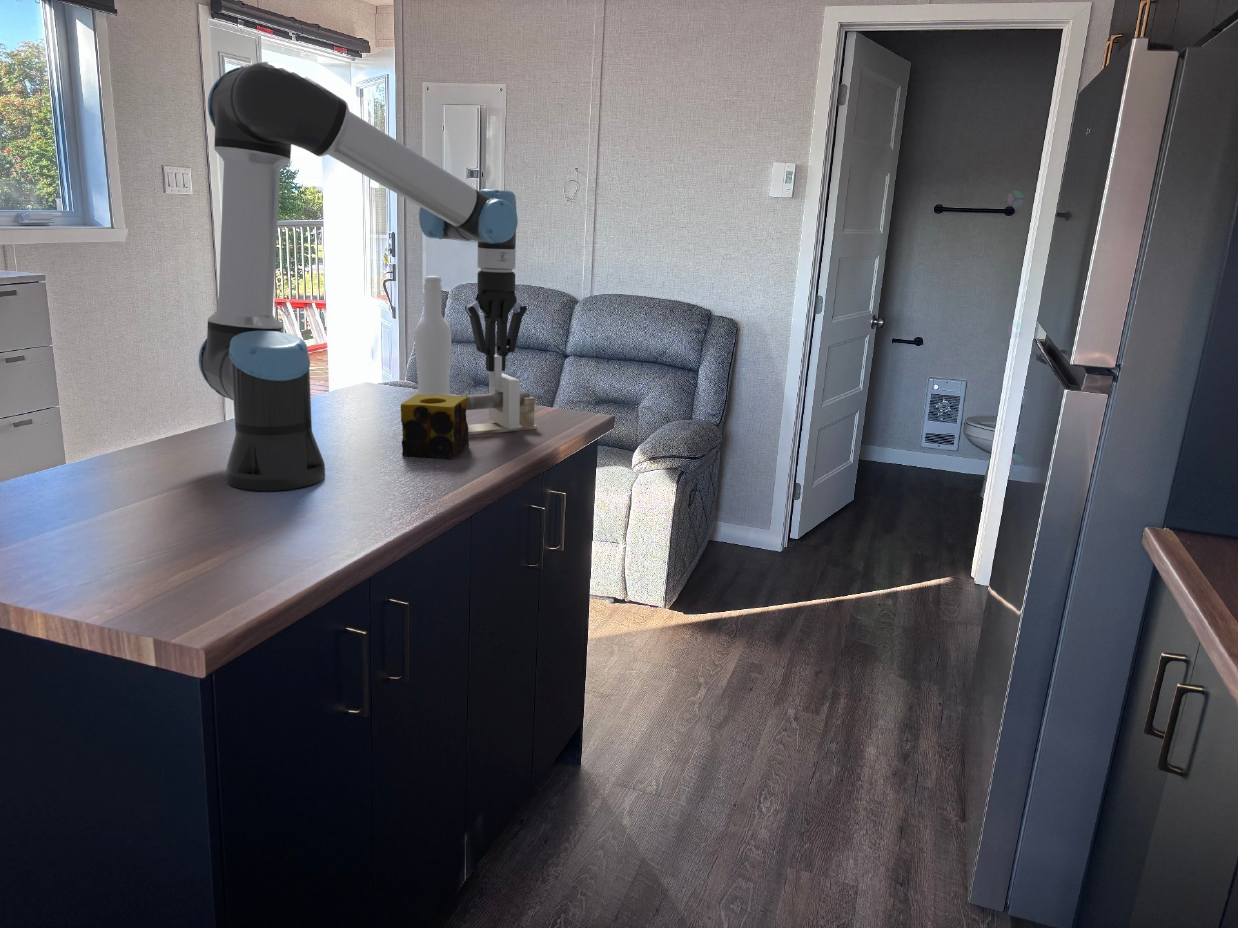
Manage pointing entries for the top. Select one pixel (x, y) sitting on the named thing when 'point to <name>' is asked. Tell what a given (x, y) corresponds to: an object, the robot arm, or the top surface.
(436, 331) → the bottle
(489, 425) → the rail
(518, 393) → the upright white plank
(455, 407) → the yellow cube with hole
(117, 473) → the top surface
